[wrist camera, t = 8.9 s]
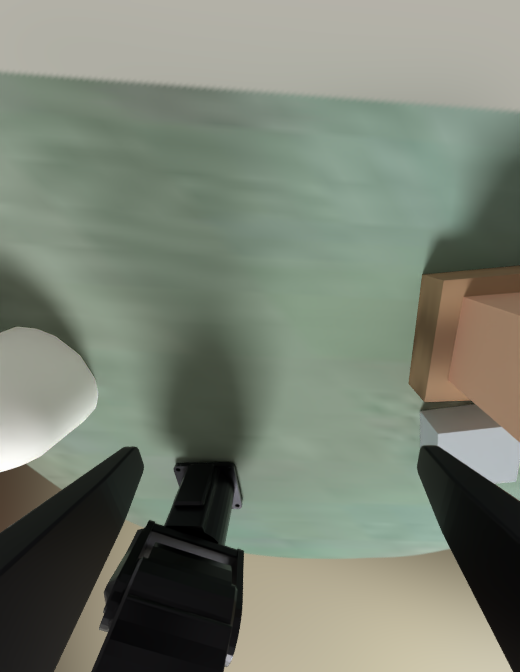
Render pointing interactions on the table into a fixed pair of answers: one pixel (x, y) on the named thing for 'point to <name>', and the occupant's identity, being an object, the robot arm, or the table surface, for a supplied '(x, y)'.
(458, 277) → the walnut block
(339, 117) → the table surface
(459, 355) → the terracotta block
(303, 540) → the table surface
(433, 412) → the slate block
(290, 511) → the table surface
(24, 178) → the table surface
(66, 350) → the teardrop
